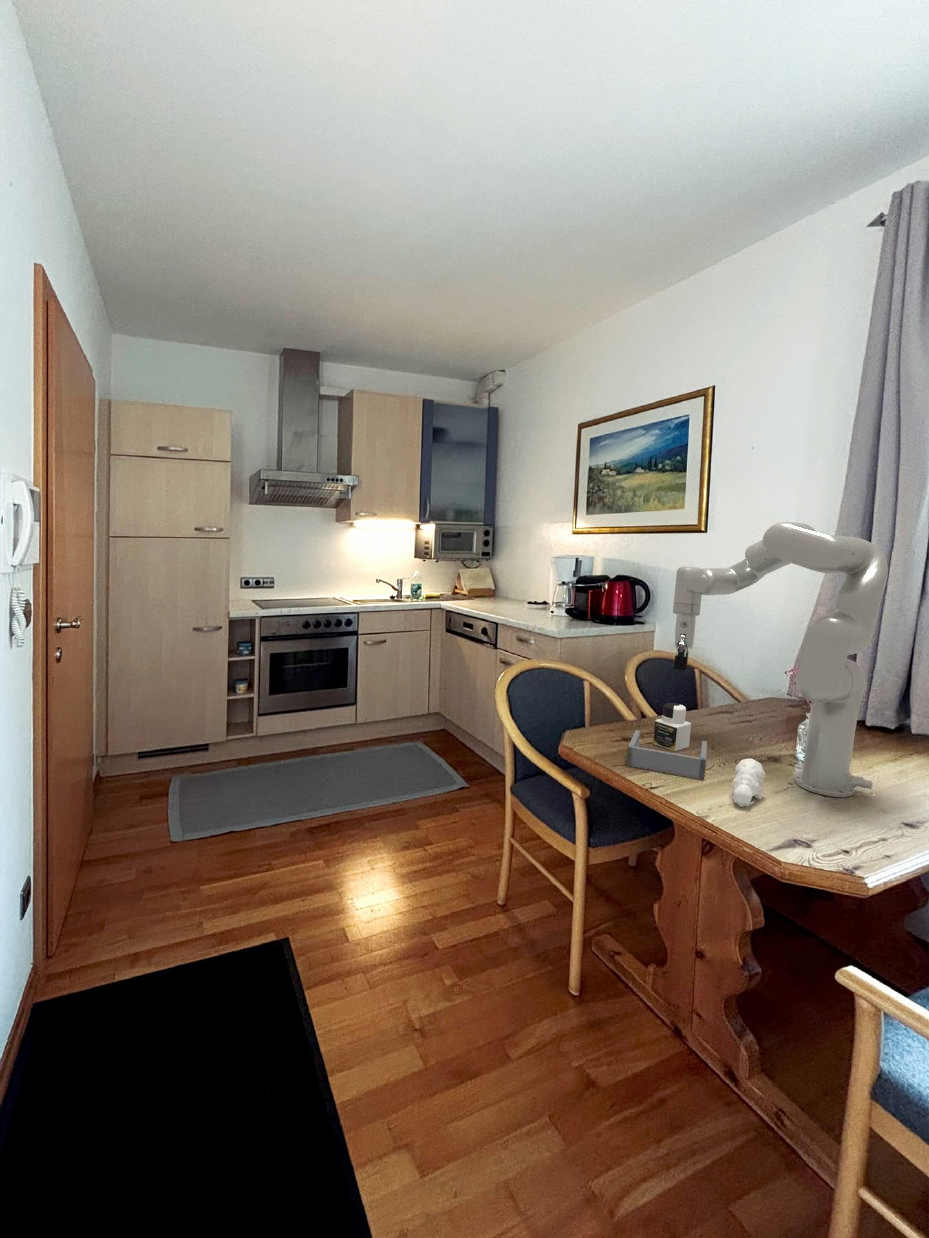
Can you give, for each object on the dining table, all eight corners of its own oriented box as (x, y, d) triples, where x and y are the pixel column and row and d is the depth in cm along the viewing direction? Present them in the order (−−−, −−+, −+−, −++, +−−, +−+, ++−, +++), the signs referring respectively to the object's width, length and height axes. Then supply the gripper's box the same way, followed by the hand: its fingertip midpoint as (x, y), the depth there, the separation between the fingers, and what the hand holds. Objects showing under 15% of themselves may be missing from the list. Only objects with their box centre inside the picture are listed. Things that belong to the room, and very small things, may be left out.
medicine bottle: (652, 743, 171) (656, 703, 169) (667, 739, 175) (671, 699, 174) (674, 751, 165) (678, 709, 164) (689, 747, 170) (693, 706, 168)
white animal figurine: (767, 759, 138) (759, 780, 128) (764, 793, 140) (755, 816, 130) (738, 752, 141) (727, 773, 131) (734, 786, 143) (724, 808, 133)
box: (705, 759, 160) (707, 741, 160) (703, 779, 146) (705, 760, 146) (634, 747, 167) (635, 729, 167) (626, 765, 153) (628, 746, 153)
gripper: (699, 613, 167) (692, 674, 170) (701, 607, 183) (695, 662, 186) (670, 611, 170) (664, 670, 173) (675, 605, 186) (669, 659, 189)
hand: (680, 666), depth 179 cm, fingers open, 8 cm apart
